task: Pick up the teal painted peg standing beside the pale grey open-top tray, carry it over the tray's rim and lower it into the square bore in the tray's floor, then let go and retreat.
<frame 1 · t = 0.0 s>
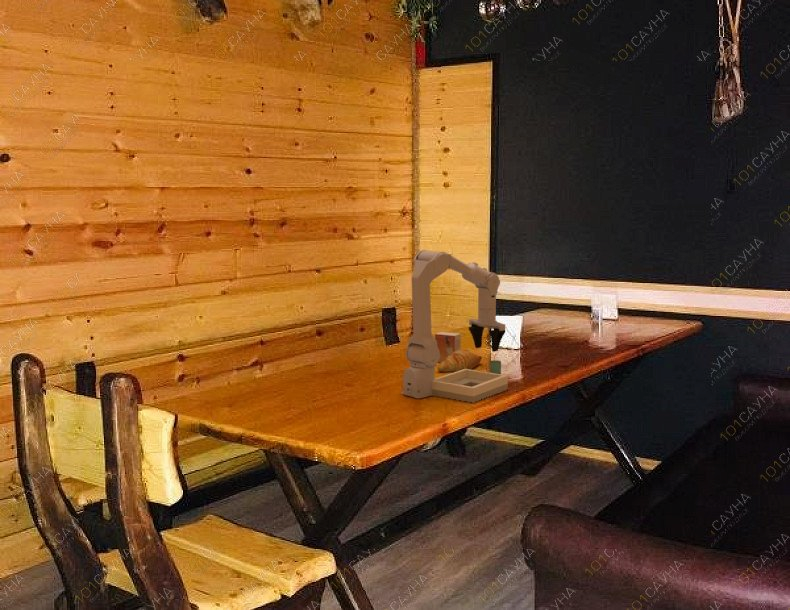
hand: (486, 349, 270), 10 cm above the table, fingers open, 7 cm apart
bore tray: (468, 392, 255), on the table
croissant: (459, 369, 288), on the table
small box: (447, 362, 298), on the table
peg: (495, 382, 267), on the table
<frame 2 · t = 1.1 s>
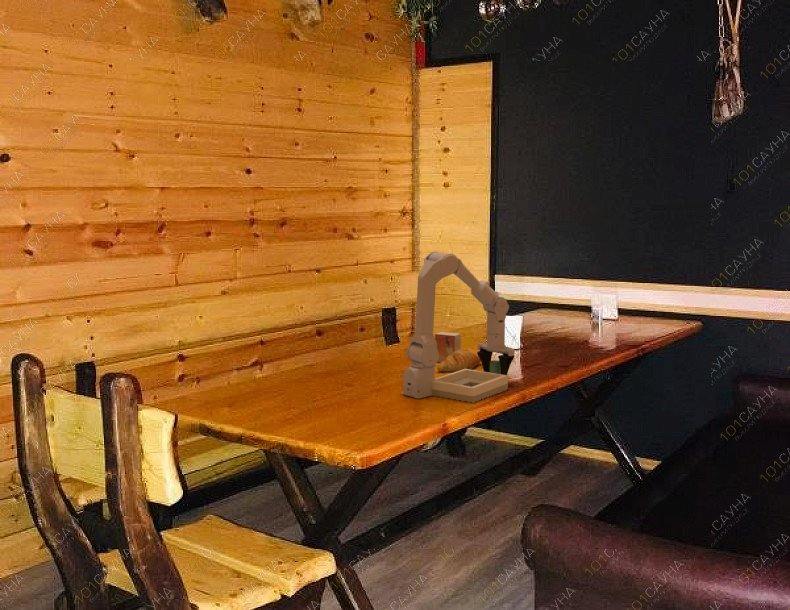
hand: (495, 374, 267), 3 cm above the table, fingers open, 7 cm apart
nothing on the table moved.
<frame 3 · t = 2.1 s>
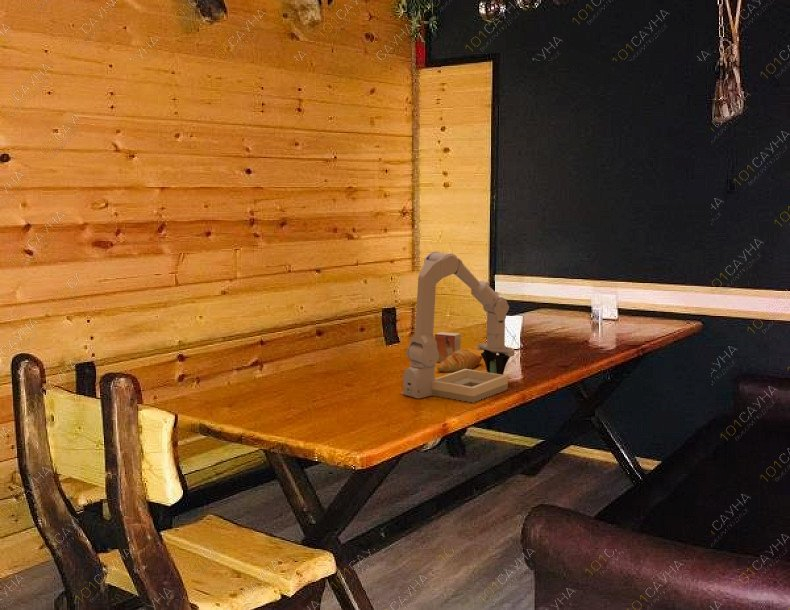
hand: (495, 374, 267), 3 cm above the table, fingers closed on peg, 4 cm apart
peg: (495, 382, 267), on the table, touching gripper
everything else where it was.
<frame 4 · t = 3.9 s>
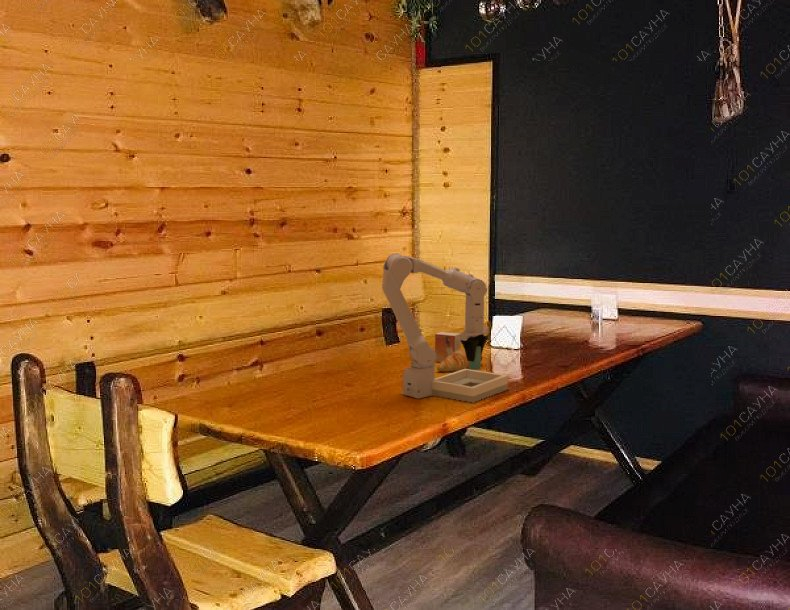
hand: (474, 359, 256), 10 cm above the table, fingers closed on peg, 4 cm apart
peg: (474, 368, 256), point 7 cm above the table, touching gripper
everything else where it was.
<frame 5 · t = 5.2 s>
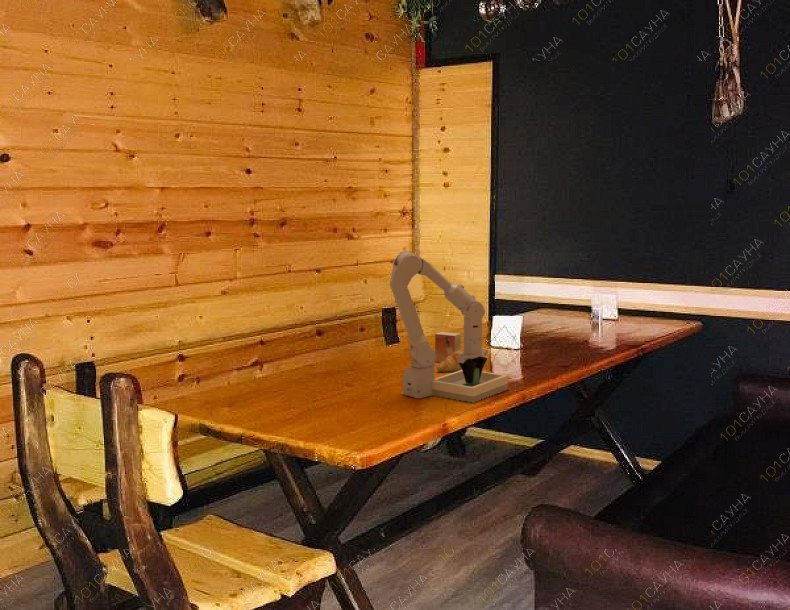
hand: (472, 381, 256), 3 cm above the table, fingers closed on peg, 4 cm apart
peg: (473, 390, 257), resting in bore tray, touching gripper
everything else where it was.
when the fingers open (3 cm above the table, at t = 6.0 s): peg stays where it is, resting in bore tray.
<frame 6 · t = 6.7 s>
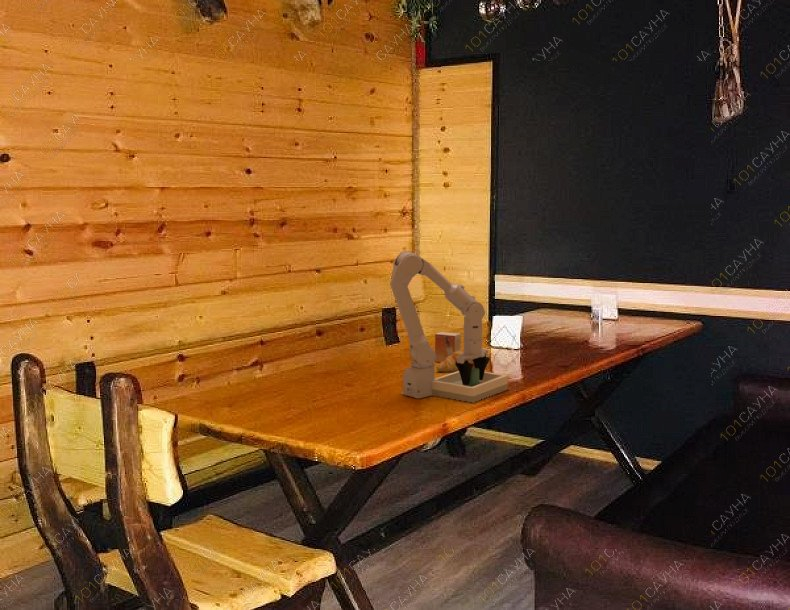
hand: (472, 382, 256), 3 cm above the table, fingers open, 7 cm apart
peg: (473, 391, 257), resting in bore tray
everything else where it was.
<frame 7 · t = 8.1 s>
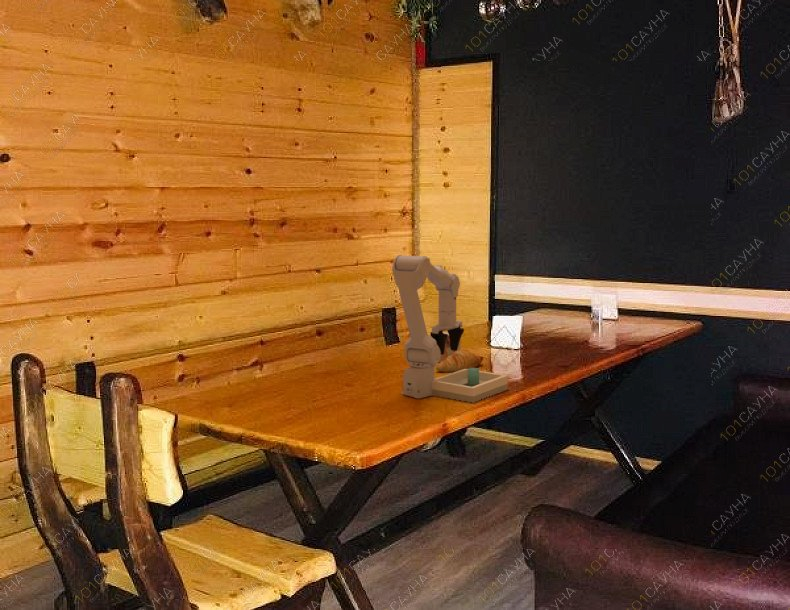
hand: (447, 352, 267), 10 cm above the table, fingers open, 7 cm apart
nothing on the table moved.
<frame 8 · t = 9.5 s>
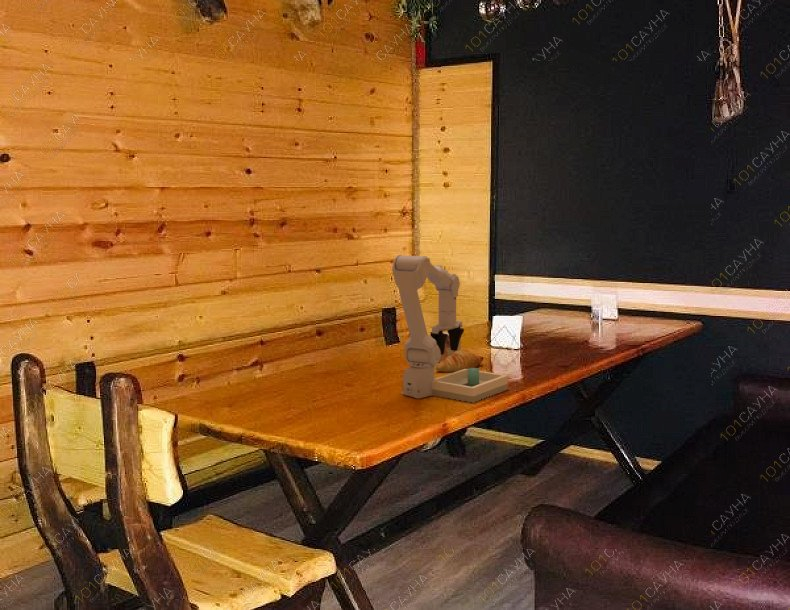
hand: (447, 352, 267), 10 cm above the table, fingers open, 7 cm apart
nothing on the table moved.
at the end: peg 0.3 cm from the target spot on the bore tray, point 0.0 cm above the bore tray's base; peg tilted 0°; the gripper is holding nothing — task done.
